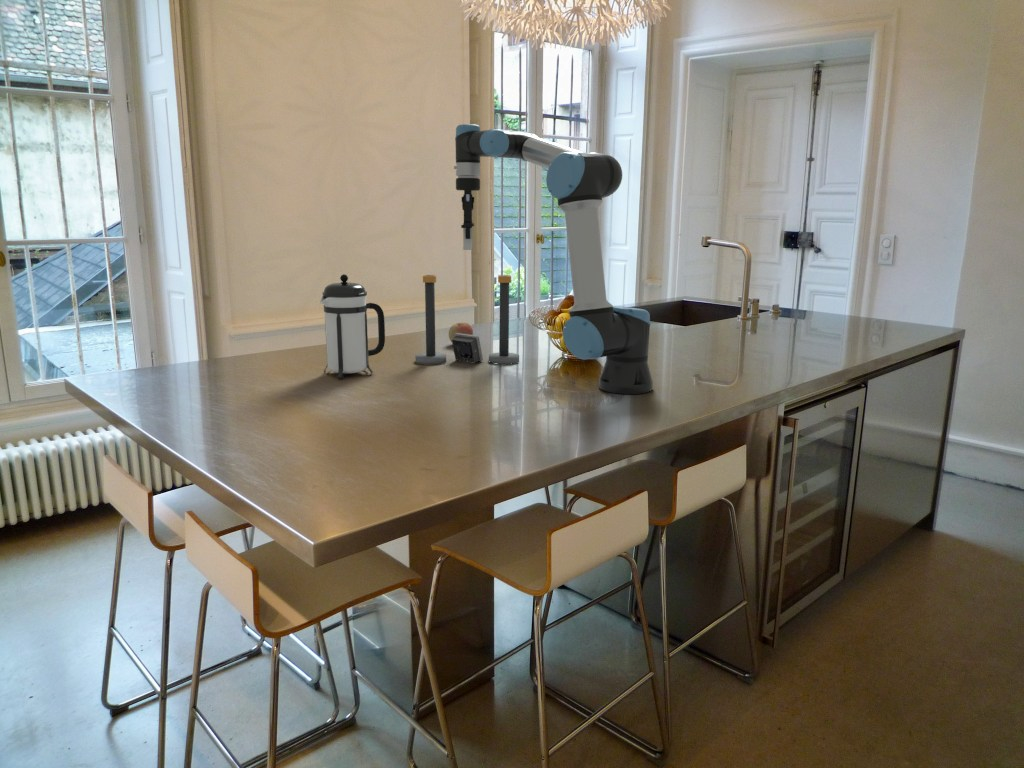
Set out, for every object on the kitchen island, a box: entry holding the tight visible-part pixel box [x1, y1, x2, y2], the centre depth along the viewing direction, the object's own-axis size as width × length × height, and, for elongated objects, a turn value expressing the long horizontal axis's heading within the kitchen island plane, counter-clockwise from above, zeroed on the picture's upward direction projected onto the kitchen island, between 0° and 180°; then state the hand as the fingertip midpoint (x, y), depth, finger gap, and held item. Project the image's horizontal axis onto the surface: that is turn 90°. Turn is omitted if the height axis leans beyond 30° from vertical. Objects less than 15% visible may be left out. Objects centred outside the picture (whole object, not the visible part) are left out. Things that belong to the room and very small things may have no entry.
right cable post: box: [488, 274, 520, 365], centre depth 246 cm, size 10×10×28 cm
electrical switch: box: [451, 333, 484, 364], centre depth 248 cm, size 9×5×9 cm, turn 57°
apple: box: [448, 322, 474, 343], centre depth 275 cm, size 9×9×8 cm
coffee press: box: [319, 273, 386, 380], centre depth 227 cm, size 17×16×30 cm
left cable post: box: [414, 274, 447, 366], centre depth 245 cm, size 10×10×28 cm
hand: (467, 248), depth 240 cm, fingers open, 12 cm apart
